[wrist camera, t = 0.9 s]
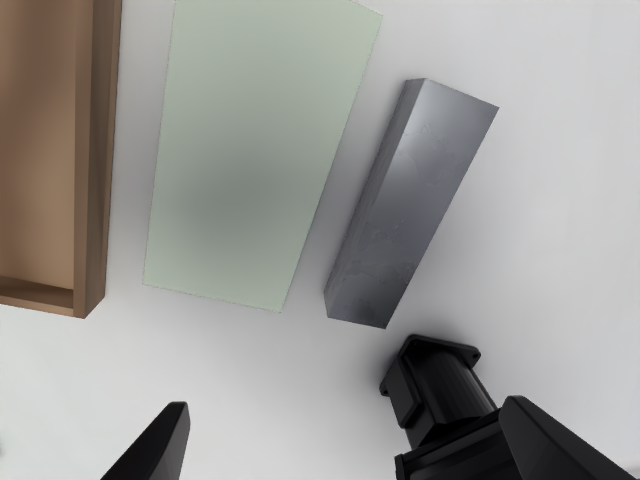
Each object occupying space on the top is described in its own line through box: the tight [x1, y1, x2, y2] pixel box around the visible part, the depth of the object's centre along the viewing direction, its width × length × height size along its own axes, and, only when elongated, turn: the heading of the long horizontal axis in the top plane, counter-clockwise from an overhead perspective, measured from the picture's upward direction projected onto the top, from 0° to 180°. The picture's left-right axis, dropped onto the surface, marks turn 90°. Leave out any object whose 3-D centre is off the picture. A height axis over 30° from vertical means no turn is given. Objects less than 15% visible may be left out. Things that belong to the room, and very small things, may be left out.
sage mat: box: [142, 0, 383, 313], centre depth 17 cm, size 9×18×1 cm, turn 161°
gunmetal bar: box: [324, 78, 499, 329], centre depth 18 cm, size 4×14×3 cm, turn 162°
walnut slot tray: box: [0, 0, 122, 319], centre depth 15 cm, size 8×18×2 cm, turn 161°
